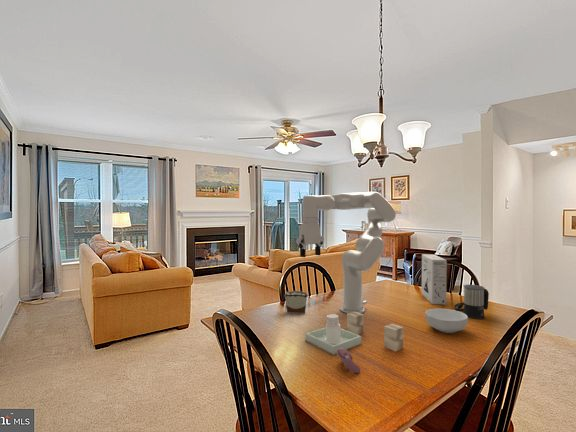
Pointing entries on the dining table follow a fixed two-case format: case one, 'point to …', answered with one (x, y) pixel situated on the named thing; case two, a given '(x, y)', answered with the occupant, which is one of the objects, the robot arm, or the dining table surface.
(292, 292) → the food container
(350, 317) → the maple block
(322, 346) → the tray
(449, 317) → the cereal bowl
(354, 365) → the video game controller
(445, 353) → the dining table surface
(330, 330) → the downlight
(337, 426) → the dining table surface
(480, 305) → the milk frother
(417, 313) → the dining table surface
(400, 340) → the maple block
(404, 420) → the dining table surface
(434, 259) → the cereal box
